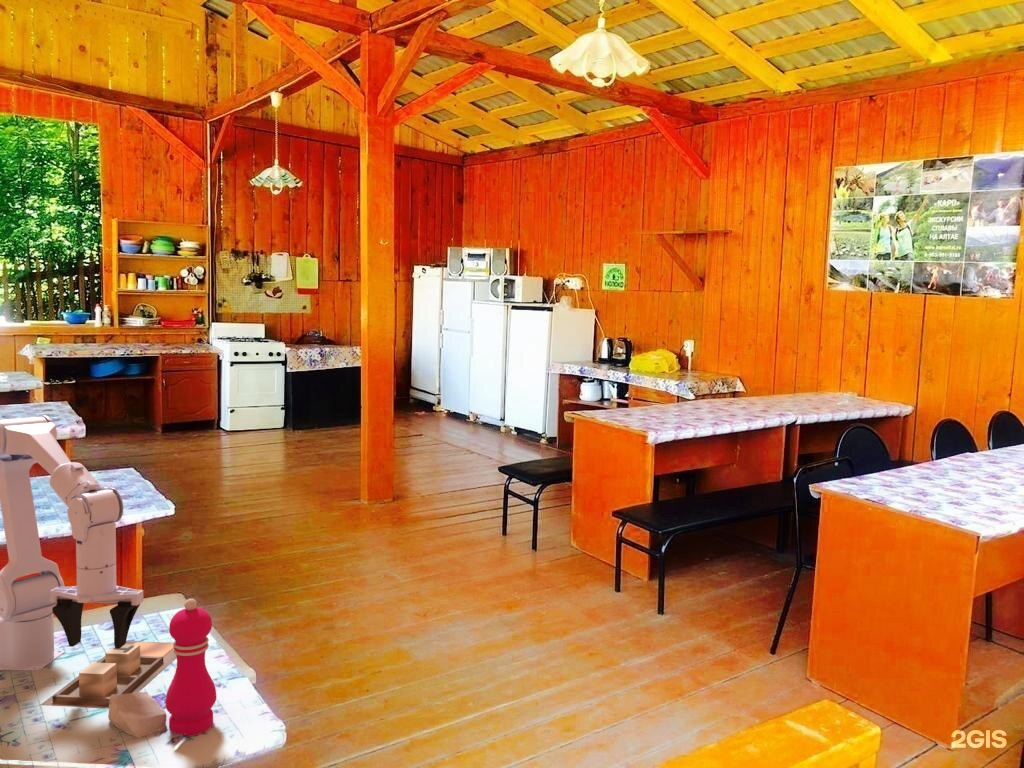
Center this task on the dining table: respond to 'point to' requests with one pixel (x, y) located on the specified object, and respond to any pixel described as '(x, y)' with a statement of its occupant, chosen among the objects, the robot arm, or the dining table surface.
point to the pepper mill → (190, 673)
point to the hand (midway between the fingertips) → (97, 645)
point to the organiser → (120, 677)
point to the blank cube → (98, 679)
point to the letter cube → (124, 658)
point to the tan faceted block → (136, 713)
